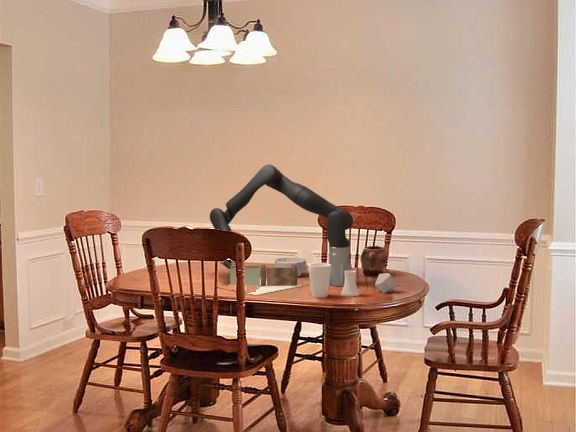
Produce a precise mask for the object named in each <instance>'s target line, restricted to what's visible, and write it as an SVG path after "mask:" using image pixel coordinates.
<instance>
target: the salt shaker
mask: <svg viewBox="0 0 576 432" xmlns="http://www.w3.org/2000/svg"><path fill="white" fill-rule="evenodd" d="M344 273H345V283H344V286H342V287H343V288H342V291H341V294H340V295H341V296H342V297H348V298H350V297H354V296H355V297H358V296H360V292H359V290H358V287H357V282H356V273H357V270H346V271H344Z"/></svg>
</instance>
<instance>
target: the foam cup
mask: <svg viewBox="0 0 576 432" xmlns="http://www.w3.org/2000/svg"><path fill="white" fill-rule="evenodd" d="M307 270H308V275H309V281H310V282H309V283H310V284H309V285H310V289H311V290H310V291H311V295H312V297H313V298H327V297H328V293H329V286H330V285H329V280H330V272H331V264H329V262H328V263H325V262H312V263H309V264H307Z"/></svg>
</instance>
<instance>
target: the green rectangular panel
mask: <svg viewBox="0 0 576 432" xmlns="http://www.w3.org/2000/svg"><path fill="white" fill-rule="evenodd" d="M229 272H230V273H229V274H230V275H229V277H230V279H229V280H230V283H229V284H230V285H236V269H235V266H230V269H229ZM260 279H261V264H260V265H259V264H258V265H257V264H255V265H253V264H251V265H249V264H248V265H245V285H260Z"/></svg>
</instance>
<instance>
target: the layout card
mask: <svg viewBox="0 0 576 432" xmlns="http://www.w3.org/2000/svg"><path fill="white" fill-rule="evenodd" d="M256 286H257V287H256V288H259V289H257V290H256V292H251V293H248V294H247V295H249V294H252V295H251V296H254V295H258V296H261V295H260V294H263V295H266V294H265V293H267V294H271V293H270V292H272V293H276V292H275V291H277V292H281V291H280V290H282V291H285V290H286V289H287V290H290V289H291V288H292V289H295V288H300V287H301V288H302V287H304V286H303V285H302V284H298V283H297V286H267V278H266V286H261V278H260V285H256ZM258 286H259V287H258ZM254 289H255V288H254ZM245 290H246V286H245ZM250 290H251V289H250Z"/></svg>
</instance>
